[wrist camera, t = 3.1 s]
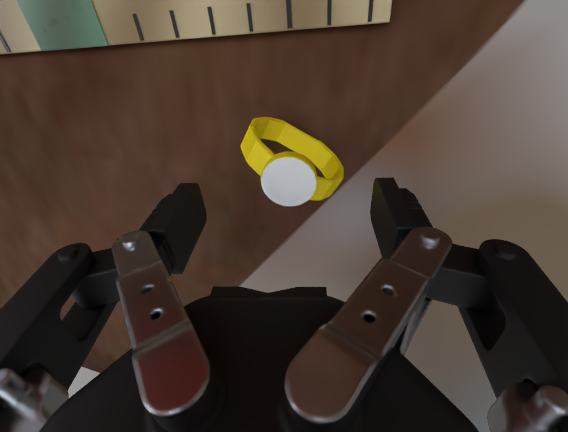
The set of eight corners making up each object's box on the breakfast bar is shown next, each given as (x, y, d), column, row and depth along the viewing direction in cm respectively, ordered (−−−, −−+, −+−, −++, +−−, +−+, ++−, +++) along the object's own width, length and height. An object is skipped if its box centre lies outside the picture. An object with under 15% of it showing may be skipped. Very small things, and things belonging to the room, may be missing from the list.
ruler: (396, -58, 13) (399, -60, 13) (387, 21, 15) (390, 22, 14) (-68, -8, 16) (-80, -8, 15) (-29, 56, 17) (-38, 57, 17)
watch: (346, 141, 19) (359, 189, 14) (324, 175, 20) (328, 228, 16) (263, 96, 18) (246, 132, 13) (245, 135, 19) (224, 180, 14)
